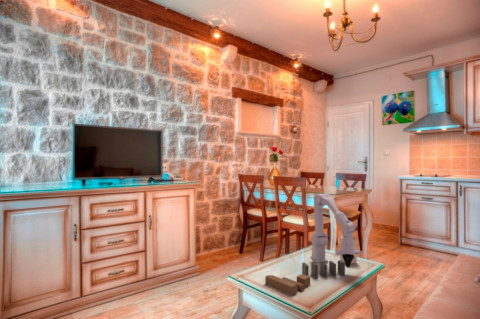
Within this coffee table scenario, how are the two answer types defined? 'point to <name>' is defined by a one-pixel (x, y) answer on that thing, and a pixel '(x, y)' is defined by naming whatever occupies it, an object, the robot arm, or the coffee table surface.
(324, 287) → the coffee table surface
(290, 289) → the wooden block set
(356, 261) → the milk carton
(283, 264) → the coffee table surface
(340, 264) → the domino
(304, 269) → the domino
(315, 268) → the domino
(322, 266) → the domino
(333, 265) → the domino
